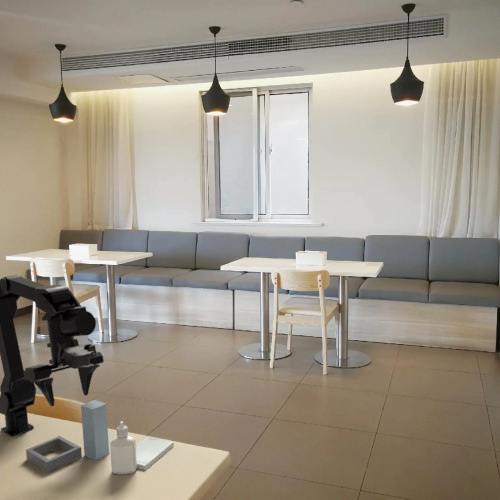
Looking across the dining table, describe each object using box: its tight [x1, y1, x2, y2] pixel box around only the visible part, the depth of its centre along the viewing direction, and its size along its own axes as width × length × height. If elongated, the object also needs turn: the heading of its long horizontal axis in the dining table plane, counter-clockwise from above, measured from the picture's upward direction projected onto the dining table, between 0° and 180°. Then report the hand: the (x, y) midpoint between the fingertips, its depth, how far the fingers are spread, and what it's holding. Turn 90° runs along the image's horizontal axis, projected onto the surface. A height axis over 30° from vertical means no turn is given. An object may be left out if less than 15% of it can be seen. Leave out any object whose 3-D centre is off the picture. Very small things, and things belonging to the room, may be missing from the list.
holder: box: [25, 435, 83, 473], centre depth 129 cm, size 10×9×2 cm
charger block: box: [80, 399, 110, 461], centre depth 129 cm, size 4×4×13 cm
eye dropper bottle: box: [109, 420, 138, 475], centre depth 121 cm, size 4×6×12 cm
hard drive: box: [136, 436, 175, 471], centre depth 129 cm, size 2×8×12 cm
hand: (69, 400), depth 128 cm, fingers open, 9 cm apart
